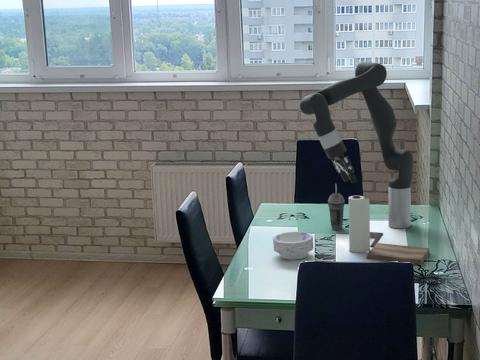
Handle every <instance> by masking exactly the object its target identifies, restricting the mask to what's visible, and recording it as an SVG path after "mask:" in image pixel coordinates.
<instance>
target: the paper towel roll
mask: <svg viewBox="0 0 480 360" xmlns="http://www.w3.org/2000/svg"><path fill="white" fill-rule="evenodd" d="M370 217H371V216H370V198H365V196H363V195H351V196H348V247H349V249H348V250H349V252H352V253H366V252H367V253H368V252H369V251H370V250H371V247H370V232H371V231H370V230H371V229H370V228H371V225H370V224H371V223H370V221H371V220H370Z"/></svg>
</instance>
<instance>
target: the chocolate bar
mask: <svg viewBox="0 0 480 360" xmlns="http://www.w3.org/2000/svg"><path fill="white" fill-rule="evenodd" d="M383 234H384V232H377V231H370V248H373V247H374V246H375V245H376V244H377V243H379V241H380V239H381V237H382V236H383Z"/></svg>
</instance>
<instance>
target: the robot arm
mask: <svg viewBox="0 0 480 360" xmlns="http://www.w3.org/2000/svg"><path fill="white" fill-rule="evenodd" d="M387 72H388V71H387V68H386V67H385V66H384V65H383V64H381V63H378V62H371V61H361V62H358V64H357V65H356V67H355V69H354V76H355V77H354V76H353V77H351V78H346V79H343V80H338V81H336V82H333V83H332V84H330V85H327V86H325V87H324V88H322V89H320V90H318V91H316V92H315V91H314V93H311V94H309V95H306V96H304V97H303V98H302V99H301V100H300V103H299V109H300V111H301V112H302V113H303V114H304V115H308V116H311V115H314V116H315V121H313V124H312V125H313V129H314V131H315V133H316V135H317V137H318V139H319V142H320V144H321V147H322V149H323V150H324V152H325V154H326V156H327V158H328V159H329V160H331V162H332V164H333V166H334V169H335V170H336V172H337V173H339V174H340V177H341V178H342V180H343V182H345V183H346V182H348V181H350V183H352V184H356V183H357V182H358V179H357V177H356V175H355V173H354V172H355V171H356V170H355V167H354V166H353V164H352V161H351V159H350V157H349V156H345V155H344V154H345V153H346V152H347V148H346V146H345V143H344V142H343V140H342V137H341V135H340V134H339V132H338V130H337V129H336V126H335V124H334V123H333V120H332V118H331V113H330V108H329V107H330V106H332V105H335V104H337V103H339V102H341V101H342V100H345V99H346V98H349V97H350V96H353V95H356V94H358V93H361V94H362V96H363V99H364V101H365V103H366V107H367V109H368V111H369V114H370V115H369V116H370V119H371V122H372V125H373V126H374V130H375V133H376V135H377V139H378V143H379V146H380V151H381V155H382V160H383V163H384V166H385V167H386V169H387V170H389V171H394V172H395V171H396V172H398V176H397V177H393V178H391V179H389V180H388V227H390V228H393V229H407V228H410V227H411V222H412V221H411V219H412V217H411V216H412V214H411V213H412V211H411V209H412V208H411V207H412V206H411V205H412V204H411V203H412V201H411V200H412V199H411V197H412V195H411V193H412V192H411V189H412V188H411V184H412V179H413V171H414V170H413V167H414V158H413V153H412V151H410V150H409V149H408V150H407V149H401V148H400V149H399V148H396V147H395V145H394V142H393V136H394V134H395V132H396V129H397V124H398V122H397V117H396V115H395V111H394V109H393V107H392V106H391V104H390V102H389V101H388V100H387V99H386V98H385V97H384V96H383V95H382V93H381V92H380V91H379V89H378V87H379V86H381V85H383V84H384V83H385V81H386V79H387V75H388V73H387Z"/></svg>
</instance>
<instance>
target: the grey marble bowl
mask: <svg viewBox="0 0 480 360" xmlns="http://www.w3.org/2000/svg"><path fill="white" fill-rule="evenodd" d="M272 242H273V243H272V244H273V250H274V251H273V252H275V253H277V254H279V256H280V258H282V259H284V260H291V261H296V260H301V259H305V258H306V257H307V256H308V254H309V253H310V252H311V251H313V250H314V237H313V234H311V233H309V232H306V231H285V232H281V233H278V234H276V235H274V236H273V238H272Z"/></svg>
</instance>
